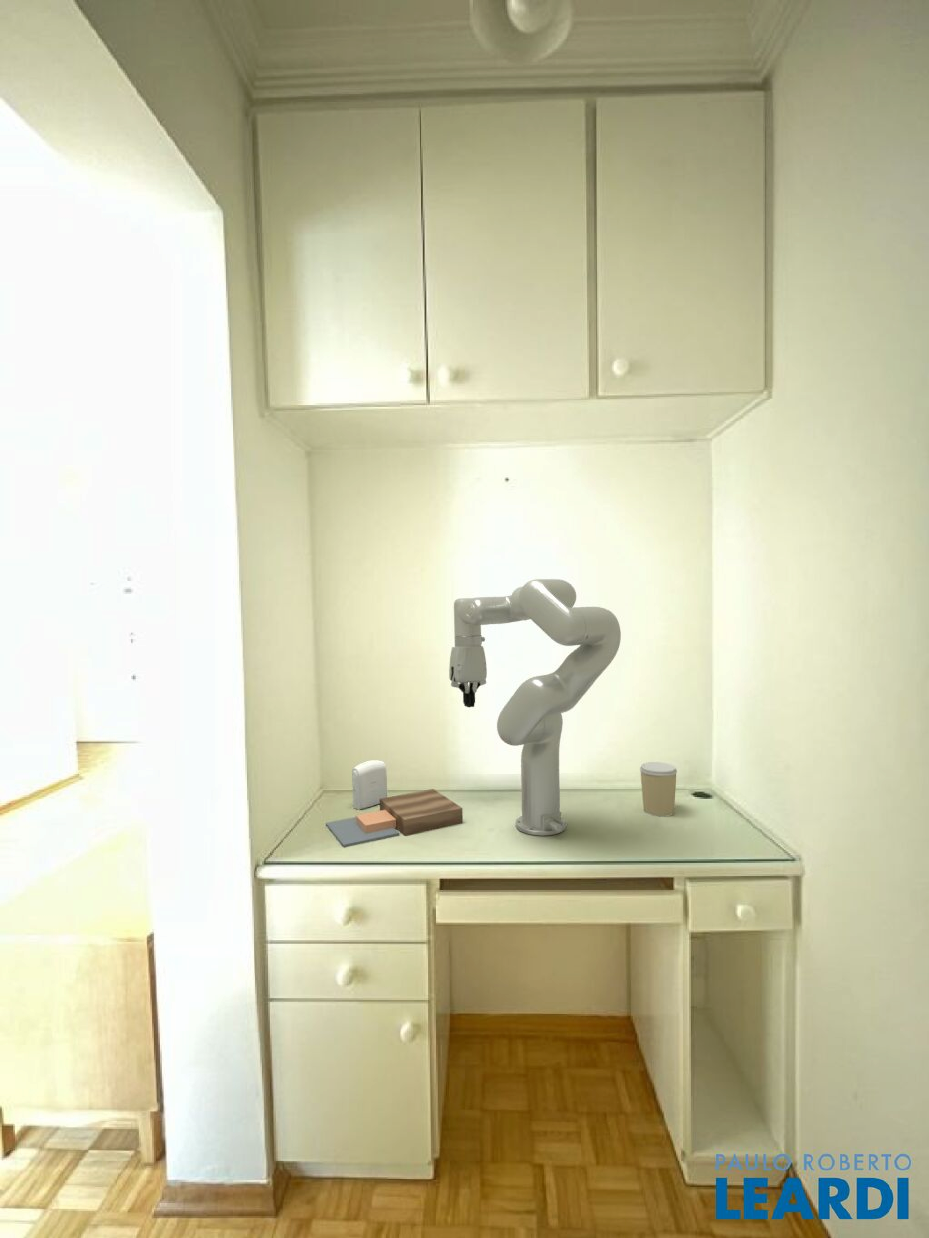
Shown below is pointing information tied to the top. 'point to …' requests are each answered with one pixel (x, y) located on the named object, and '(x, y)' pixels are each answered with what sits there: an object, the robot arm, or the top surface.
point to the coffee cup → (658, 788)
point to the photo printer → (369, 783)
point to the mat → (356, 832)
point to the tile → (375, 821)
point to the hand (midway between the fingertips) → (469, 706)
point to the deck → (422, 811)
